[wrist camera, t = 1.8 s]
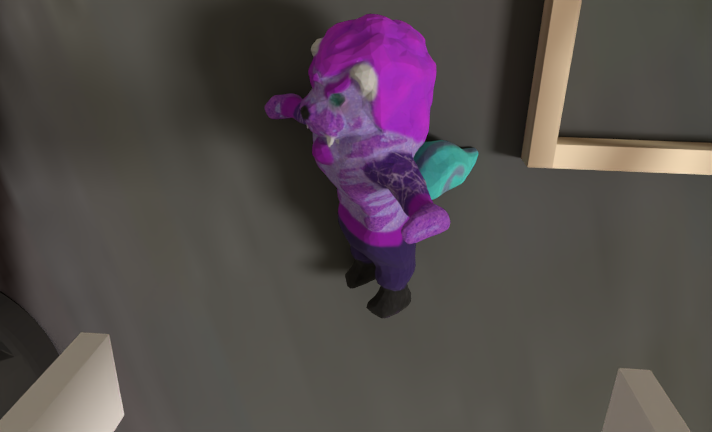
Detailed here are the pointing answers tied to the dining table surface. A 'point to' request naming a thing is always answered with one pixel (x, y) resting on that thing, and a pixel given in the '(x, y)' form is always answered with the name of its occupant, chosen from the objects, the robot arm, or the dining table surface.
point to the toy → (378, 147)
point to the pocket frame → (588, 152)
